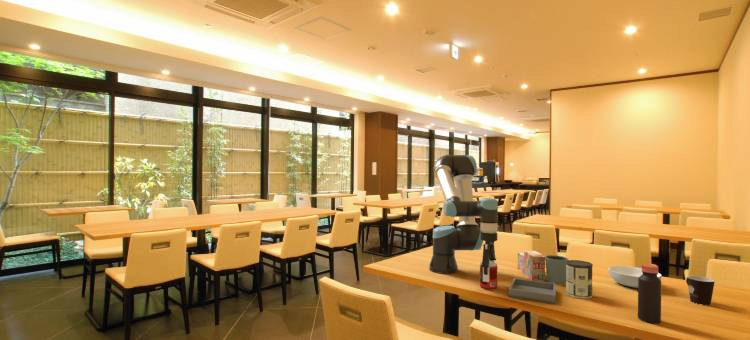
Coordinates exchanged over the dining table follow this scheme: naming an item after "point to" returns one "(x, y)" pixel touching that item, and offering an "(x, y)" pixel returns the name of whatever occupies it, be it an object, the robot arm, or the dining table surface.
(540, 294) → the tray
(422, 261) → the dining table surface
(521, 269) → the white food box
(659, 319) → the bottle
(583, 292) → the coffee can
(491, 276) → the canned food
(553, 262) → the grey cylinder
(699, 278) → the coffee mug
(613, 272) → the serving bowl
